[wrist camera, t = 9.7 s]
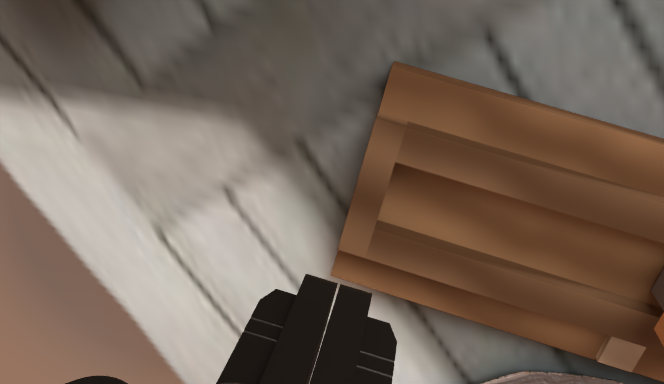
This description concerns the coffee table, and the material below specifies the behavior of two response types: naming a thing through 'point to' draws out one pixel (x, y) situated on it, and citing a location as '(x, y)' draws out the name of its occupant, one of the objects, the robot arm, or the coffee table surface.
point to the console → (512, 218)
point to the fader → (660, 290)
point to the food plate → (548, 379)
